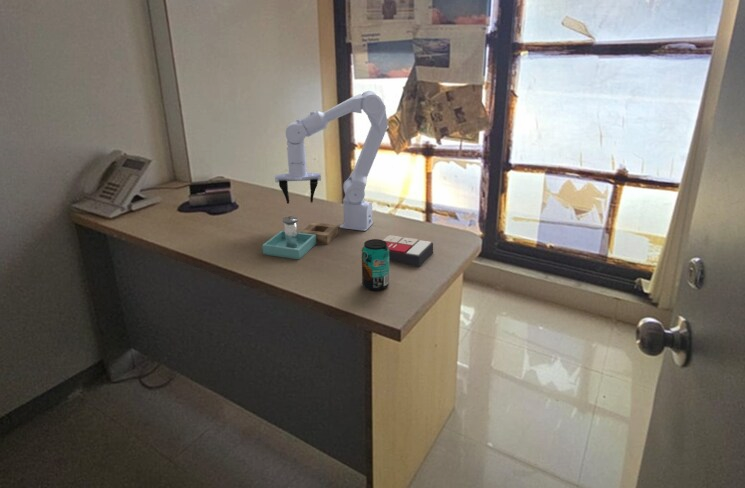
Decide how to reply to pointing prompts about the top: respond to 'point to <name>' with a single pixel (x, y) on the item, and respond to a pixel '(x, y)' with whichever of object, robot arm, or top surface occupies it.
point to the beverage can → (375, 265)
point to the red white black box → (408, 250)
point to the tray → (278, 247)
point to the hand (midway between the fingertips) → (299, 202)
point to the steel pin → (291, 231)
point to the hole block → (322, 232)
